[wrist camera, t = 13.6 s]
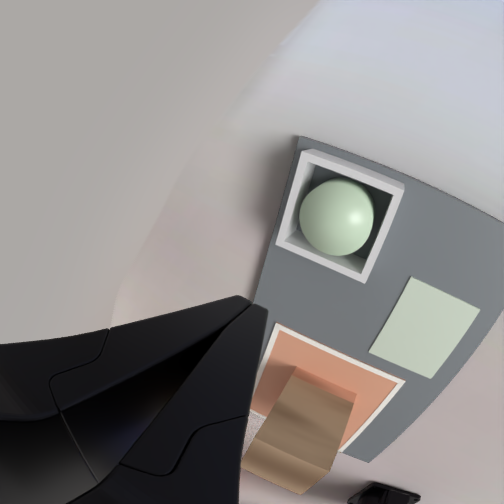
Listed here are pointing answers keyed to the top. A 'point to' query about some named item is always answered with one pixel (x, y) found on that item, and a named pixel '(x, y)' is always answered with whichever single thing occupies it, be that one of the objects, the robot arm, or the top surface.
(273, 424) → the stamp
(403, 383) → the picture board
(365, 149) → the top surface
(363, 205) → the button
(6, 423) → the robot arm
